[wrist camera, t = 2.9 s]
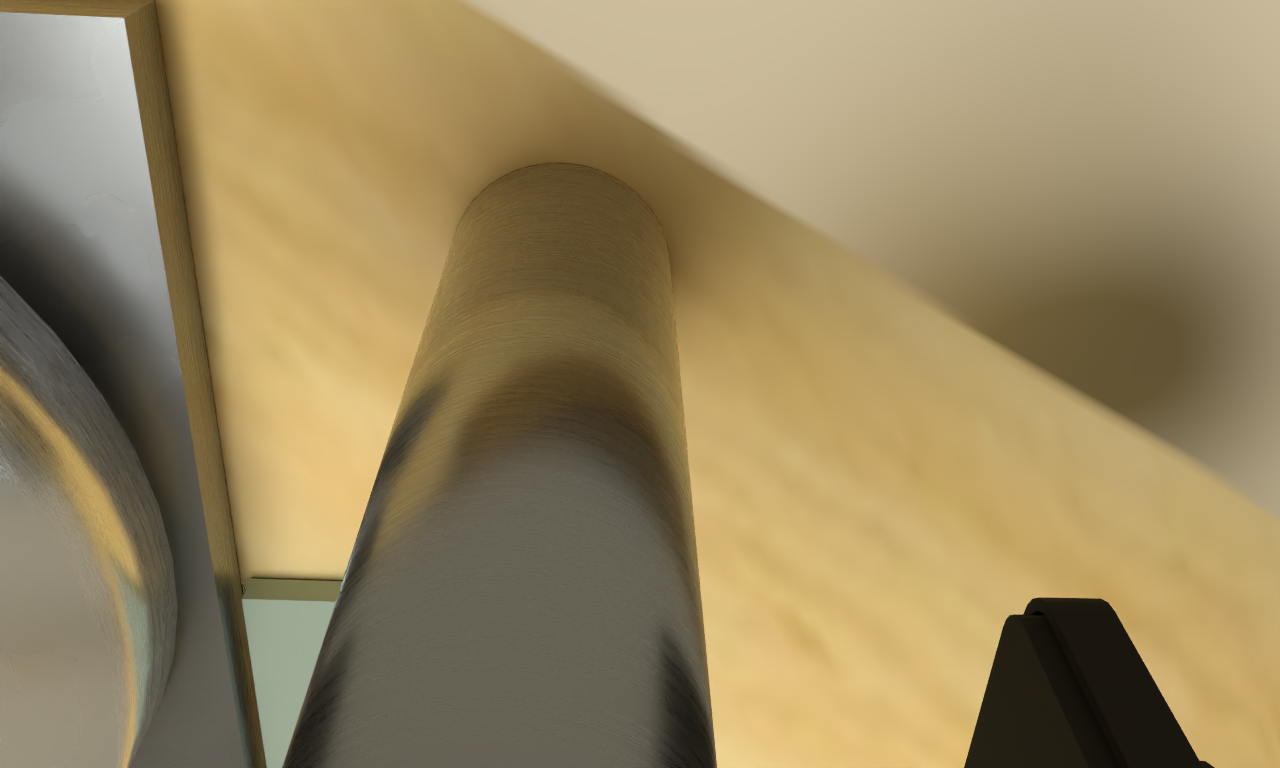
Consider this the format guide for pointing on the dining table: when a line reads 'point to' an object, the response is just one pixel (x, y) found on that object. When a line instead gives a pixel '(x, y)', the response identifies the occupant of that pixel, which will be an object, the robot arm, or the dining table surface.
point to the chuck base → (130, 322)
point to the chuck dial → (74, 563)
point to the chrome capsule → (528, 512)
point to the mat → (284, 651)
